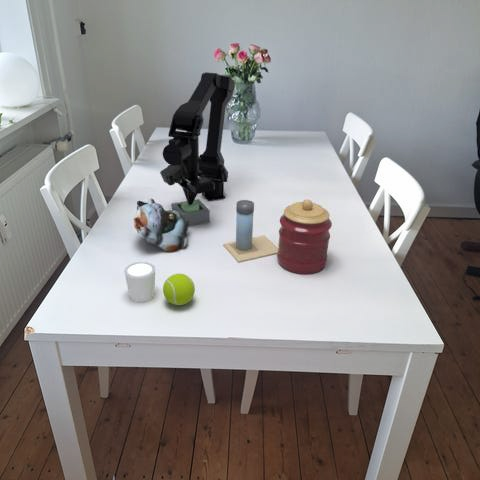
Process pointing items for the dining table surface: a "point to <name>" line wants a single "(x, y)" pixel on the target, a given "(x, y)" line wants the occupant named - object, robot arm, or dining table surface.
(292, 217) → the canister
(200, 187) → the robot arm
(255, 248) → the kraft sheet
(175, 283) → the tennis ball
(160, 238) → the lucky cat figurine
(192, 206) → the button
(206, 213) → the button box
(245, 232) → the water bottle
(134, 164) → the dining table surface
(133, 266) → the white cylinder
